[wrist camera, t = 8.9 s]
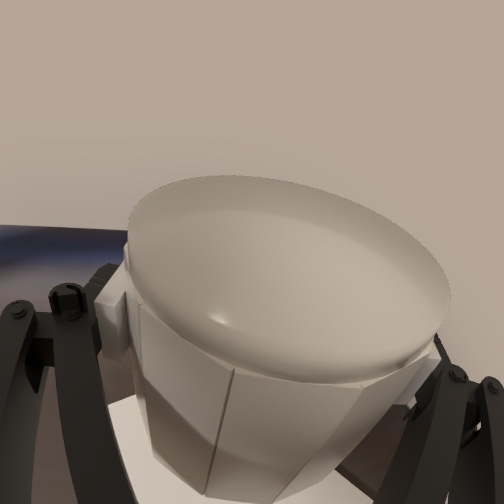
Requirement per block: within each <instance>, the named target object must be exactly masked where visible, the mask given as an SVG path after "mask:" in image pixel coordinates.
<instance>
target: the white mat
mask: <svg viewBox="0 0 504 504" xmlns="http://www.w3.org/2000/svg"><path fill="white" fill-rule="evenodd" d="M108 409H109V413H110V417H111V420H112V424H113V428H114V431H115V435H116V438H117V442H118V445H119V449H120V452H121V455H122V458H123V461H124V464H125V467H126V470H127V473H128V476H129V479H130V482H131V485H132V487H133V490H134V493H135V495H136V498H137V501H138V503H139V504H254V503H244V502H236V501H228V500H221V499H215V498H208V497H205V494H204V495H203V496H202V495H201V494H199V493H198V492H196V491H195V490H194V489H192V488H191V487H190V486H188V485H187V484H186V483H184V482H183V481H182V480H180V479H179V478H178V477H177V476H175V475H174V474H173V473H171V472H170V471H169V470H168V469H167V468H165V467H164V466H163V465H162V464H160V463H159V462H158V461H157V460H156V459H155V458H154V457H153V454H152V451H151V448H150V445H149V442H148V439H147V436H146V433H145V430H144V427H143V424H142V421H141V417H140V414H139V411H138V405H137V399H136V394H135V395H133V396H130V397H128V398H125V399H123V400H120V401H118V402H115V403H112V404H110V405H108ZM373 502H374V501H373V500H372V499H371V498H369V497H368V496H367V495H365V494H364V493H363V492H362V491H360V490H359V489H358V488H356V487H355V486H354V485H353V484H351V483H350V482H349V481H348V480H346V479H345V478H344V477H343V476H342V475H340V474H339V473H338V472H337V471H336V470H333V471H332V472H331V473H330V474H329V475H328V476H326V477H325V478H324V479H323V480H322V481H321V482H319V483H317V484H315V485H313V486H311V487H309V488H307V489H305V490H302V491H300V492H298V493H296V494H294V495H292V496H289V497H287V498H285V499H282V500H280V501H278V502H275V503H273V504H373Z"/></svg>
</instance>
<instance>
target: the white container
mask: <svg viewBox="0 0 504 504" xmlns="http://www.w3.org/2000/svg"><path fill="white" fill-rule="evenodd" d="M124 271H125V292H126V308H127V322H128V333H129V344H130V353H131V362H132V370H133V378H134V385H135V392H136V399H137V405H138V411H139V414H140V417H141V421H142V424H143V427H144V430H145V433H146V436H147V439H148V442H149V445H150V448H151V451H152V454H153V457H154V458H155V459H156V460H157V461H158V462H159V463H160V464H162V465H163V466H164V467H165V468H167V469H168V470H169V471H170V472H171V473H173V474H174V475H175V476H177V477H178V478H179V479H180V480H182V481H183V482H184V483H186V484H187V485H188V486H190V487H191V488H192V489H194V490H195V491H196V492H198V493H199V494H201V495H202V496H203V495H204V494H205V497H208V498H215V499H221V500H228V501H236V502H244V503H254V504H273V503H275V502H278V501H280V500H282V499H285V498H287V497H289V496H292V495H294V494H296V493H298V492H300V491H302V490H305V489H307V488H309V487H311V486H313V485H315V484H317V483H319V482H321V481H322V480H323V479H324V478H325V477H326V476H328V475H329V474H330V473H331V472H332V471H333V470H334V469H335V468H336V467H337V466H338V465H339V464H340V463H341V462H342V461H343V460H344V459H345V458H346V457H347V456H348V455H349V454H350V452H351V451H352V450H353V449H354V448H355V447H356V446H357V445H358V444H359V443H360V442H361V441H362V440H363V438H364V437H365V436H366V435H367V434H368V433H369V432H370V431H371V429H372V428H373V427H374V426H375V425H376V424H377V423H378V421H379V420H380V419H381V418H382V417H383V415H384V414H385V413H386V412H387V411H388V409H389V408H390V407H391V406H392V404H393V403H394V402H395V401H396V399H397V398H398V397H399V396H400V394H401V393H402V392H403V390H404V389H405V388H406V386H407V385H408V384H409V382H410V381H411V380H412V378H413V377H414V376H415V374H416V373H417V371H418V370H419V369H420V367H421V366H422V364H423V363H424V361H425V360H426V358H427V357H428V355H429V354H430V353H431V351H432V346H433V340H434V335H435V334H436V332H437V331H438V329H439V327H440V326H441V324H442V322H443V321H444V319H445V317H446V315H447V313H448V311H449V307H450V302H451V294H450V287H449V283H448V280H447V277H446V275H445V273H444V271H443V269H442V268H441V266H440V265H439V263H438V262H437V260H436V259H435V258H434V257H433V255H432V254H431V253H430V252H429V251H428V250H427V249H426V248H425V247H424V246H423V245H422V244H421V243H420V242H419V241H418V240H417V239H415V238H414V237H413V236H412V235H411V234H409V233H408V232H407V231H405V230H404V229H402V228H401V227H399V226H398V225H397V224H395V223H393V222H392V221H390V220H389V219H387V218H385V217H383V216H381V215H380V214H378V213H376V212H374V211H372V210H370V209H368V208H366V207H364V206H362V205H360V204H357V203H355V202H353V201H350V200H348V199H345V198H343V197H340V196H337V195H335V194H332V193H328V192H325V191H322V190H319V189H316V188H312V187H308V186H304V185H300V184H296V183H292V182H286V181H281V180H275V179H269V178H261V177H251V176H206V177H198V178H191V179H186V180H181V181H177V182H174V183H170V184H167V185H165V186H163V187H160V188H158V189H156V190H154V191H152V192H151V193H149V194H148V195H147V196H145V197H144V198H142V200H140V201H139V202H138V204H137V205H136V206H135V208H134V209H133V211H132V213H131V215H130V218H129V224H128V242H127V243H126V244H125V245H124Z"/></svg>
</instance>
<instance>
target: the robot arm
mask: <svg viewBox="0 0 504 504" xmlns="http://www.w3.org/2000/svg"><path fill="white" fill-rule="evenodd" d="M48 297H49V302H50V306H51V310H52V312H51V313H48V312H35V309H34V306H33V304H32V303H30V302H29V301H25V300H17V301H14V302H11V303H10V304H8V305H7V306H6V307H5V309H4V310H3V312H2V314H1V316H0V504H31V490H32V474H33V462H34V452H35V444H36V436H37V429H38V422H39V415H40V409H41V404H42V398H43V393H44V388H45V383H46V378H47V373H48V369H49V366H50V367H55V377H56V388H57V397H58V405H59V413H60V420H61V427H62V433H63V439H64V444H65V450H66V455H67V460H68V464H69V469H70V473H71V477H72V482H73V486H74V490H75V493H76V497H77V501H78V504H139V503H138V501H137V498H136V495H135V493H134V490H133V487H132V485H131V482H130V479H129V476H128V473H127V470H126V467H125V464H124V461H123V458H122V455H121V452H120V449H119V445H118V442H117V438H116V435H115V431H114V428H113V424H112V420H111V417H110V413H109V409H108V405H107V401H106V396H105V392H104V388H103V383H102V378H101V373H100V369H99V363H98V359H97V355H98V353H99V352H100V350H101V348H102V353H103V358H106V359H109V360H112V361H116V362H119V363H122V362H123V359H124V357H125V355H126V353H127V351H128V349H129V347H130V344H129V333H128V322H127V308H126V292H125V271H124V261H123V262H122V264H121V265H120V266H119V265H115V264H110V263H108V264H106V265H104V266H103V267H101V268H99V269H98V270H97V272H96V273H95V274H94V275H93V277H92V278H91V279H90V280H89V283H87V284H86V285H85V287H84V288H83V287H82V286H80V285H78V284H75V283H64V284H60V285H58V286H56V287H54V288H53V289H52V290H51V291H50V293H49V296H48ZM414 395H415V398H416V401H417V403H416V404H415V405H414V406H413V407H412V409H411V410H410V411H409V412H408V413H407V414H406V415H405V417H404V418H403V420H406V419H407V417H409V419H408V421H407V424H406V427H405V430H404V433H403V435H402V438H401V440H400V443H399V446H398V448H397V451H396V453H395V456H394V458H393V460H392V463H391V465H390V467H389V470H388V472H387V474H386V477H385V479H384V481H383V483H382V485H381V487H380V489H379V492H378V494H377V496H376V498H375V500H374V502H373V504H445V501H446V498H447V494H448V491H449V495H448V504H504V388H503V386H502V384H501V383H500V382H499V381H498V380H497V379H495V378H493V377H490V376H488V377H485V378H484V379H483V380H482V382H481V383H480V384H479V383H476V382H473V381H470V380H469V379H468V376H467V374H466V372H465V371H464V370H463V369H462V368H460V367H459V366H456V365H454V364H451V362H450V359H449V357H448V355H447V353H446V351H445V349H444V347H443V345H442V344H441V341H440V339H439V338H438V335H437V333H436V334H435V335H434V340H433V346H432V351H431V353H430V354H429V355H428V357H427V358H426V360H425V361H424V363H423V364H422V366H421V367H420V369H419V370H418V371H417V373H416V374H415V376H414V377H413V378H412V380H411V381H410V382H409V384H408V385H407V386H406V388H405V389H404V390H403V392H402V393H401V394H400V396H399V397H398V398H397V399H396V401H395V402H394V403H393V404H408V402H409V401H410V400H411V399H412V398H413V397H414ZM480 422H481V428H480V429H479V430H477V425H478V424H479V423H480Z"/></svg>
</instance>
